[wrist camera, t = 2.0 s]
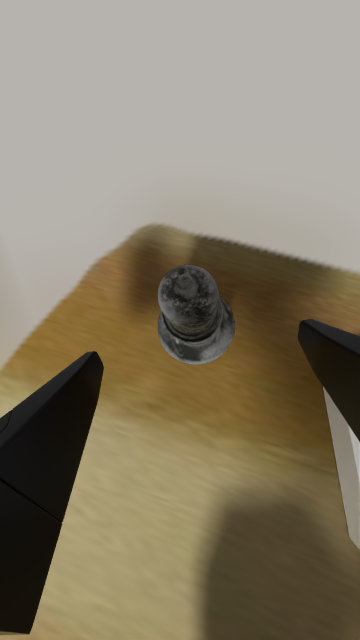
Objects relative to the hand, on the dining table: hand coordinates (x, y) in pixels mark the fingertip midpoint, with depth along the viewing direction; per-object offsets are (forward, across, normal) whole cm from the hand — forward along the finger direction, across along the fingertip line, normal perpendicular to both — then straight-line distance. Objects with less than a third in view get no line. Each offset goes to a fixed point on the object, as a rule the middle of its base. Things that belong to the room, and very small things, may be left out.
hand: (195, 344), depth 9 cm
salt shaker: (+9, 0, +6) cm, 10 cm away
